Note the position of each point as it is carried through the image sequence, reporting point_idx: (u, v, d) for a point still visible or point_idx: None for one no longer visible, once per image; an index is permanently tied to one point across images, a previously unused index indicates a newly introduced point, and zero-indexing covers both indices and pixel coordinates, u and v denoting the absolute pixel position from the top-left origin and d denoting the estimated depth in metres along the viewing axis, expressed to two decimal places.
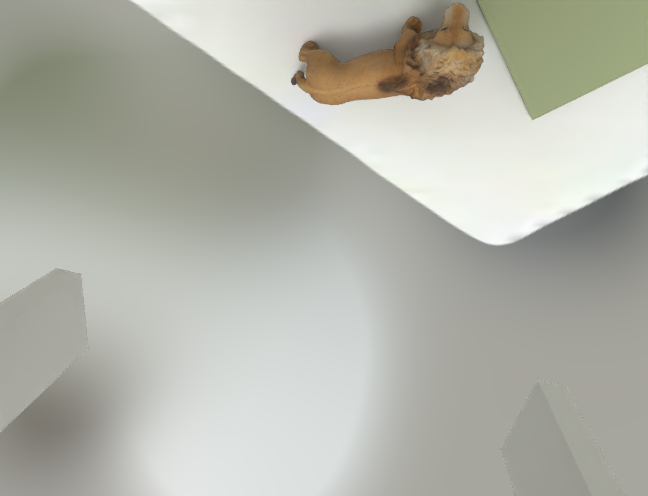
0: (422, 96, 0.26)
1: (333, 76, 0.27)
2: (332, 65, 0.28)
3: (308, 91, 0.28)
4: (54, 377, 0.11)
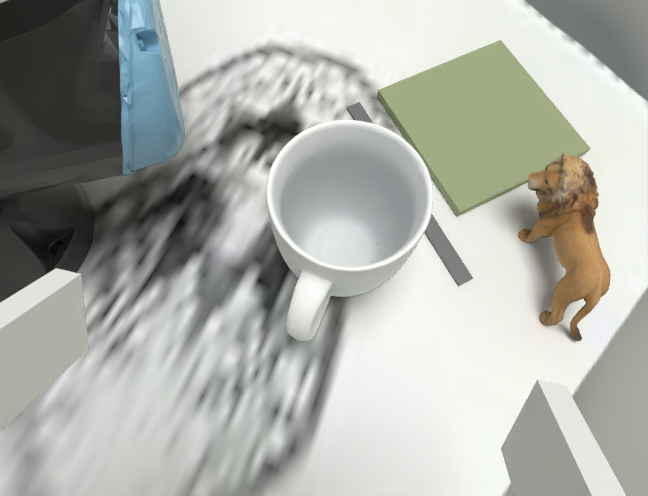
0: (597, 194, 0.33)
1: (585, 267, 0.32)
2: (573, 271, 0.32)
3: (600, 292, 0.31)
4: (54, 377, 0.11)
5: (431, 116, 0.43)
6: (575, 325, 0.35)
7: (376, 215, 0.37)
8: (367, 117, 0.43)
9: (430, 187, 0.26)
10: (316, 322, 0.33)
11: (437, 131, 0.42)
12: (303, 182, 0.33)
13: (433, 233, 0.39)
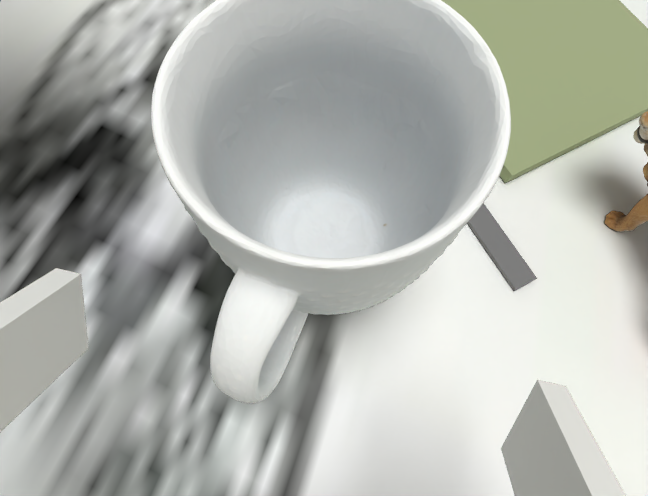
0: None
1: None
2: None
3: None
4: (54, 377, 0.11)
5: None
6: None
7: (382, 179, 0.23)
8: None
9: (503, 89, 0.12)
10: (282, 359, 0.19)
11: None
12: (256, 116, 0.19)
13: None
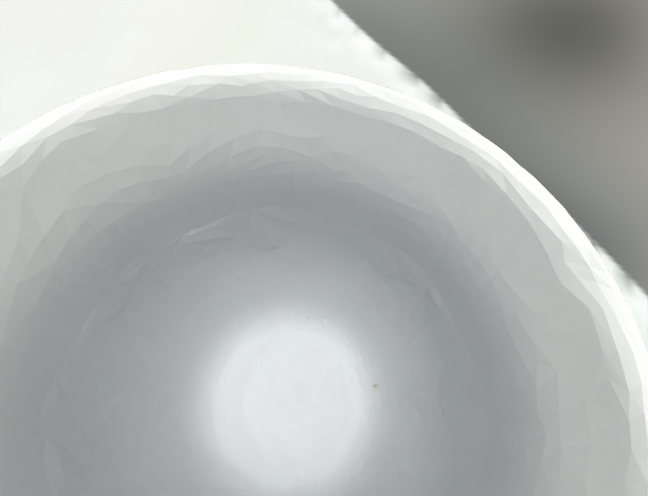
0: None
1: None
2: None
3: None
4: None
5: None
6: None
7: (371, 323, 0.15)
8: None
9: None
10: None
11: None
12: (161, 269, 0.11)
13: None
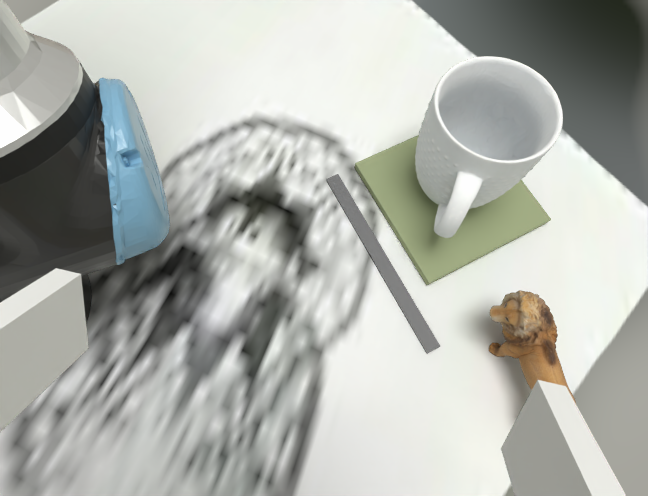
0: (555, 328, 0.34)
1: None
2: None
3: None
4: (54, 377, 0.11)
5: (404, 189, 0.46)
6: None
7: (484, 146, 0.45)
8: (345, 189, 0.47)
9: (559, 103, 0.34)
10: None
11: (409, 203, 0.45)
12: None
13: (404, 303, 0.42)
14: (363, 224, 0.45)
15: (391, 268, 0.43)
